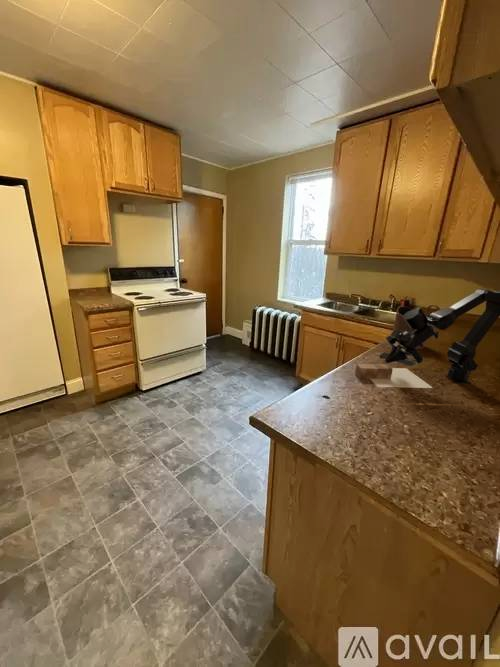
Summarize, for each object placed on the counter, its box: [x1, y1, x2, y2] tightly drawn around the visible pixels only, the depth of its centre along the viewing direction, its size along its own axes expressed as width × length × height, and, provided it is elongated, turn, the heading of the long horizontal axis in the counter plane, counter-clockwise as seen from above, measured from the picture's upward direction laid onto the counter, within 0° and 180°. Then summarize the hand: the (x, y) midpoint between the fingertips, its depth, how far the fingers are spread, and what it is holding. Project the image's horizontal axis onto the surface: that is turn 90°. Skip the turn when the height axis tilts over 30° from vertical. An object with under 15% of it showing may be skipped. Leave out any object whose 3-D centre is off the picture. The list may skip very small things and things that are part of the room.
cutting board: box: [369, 367, 434, 389], centre depth 116 cm, size 22×18×1 cm
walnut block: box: [354, 363, 393, 380], centre depth 115 cm, size 4×4×13 cm
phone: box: [378, 352, 416, 367], centre depth 136 cm, size 8×1×15 cm
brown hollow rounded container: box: [392, 304, 441, 350], centre depth 156 cm, size 18×24×25 cm
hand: (385, 362), depth 114 cm, fingers closed
